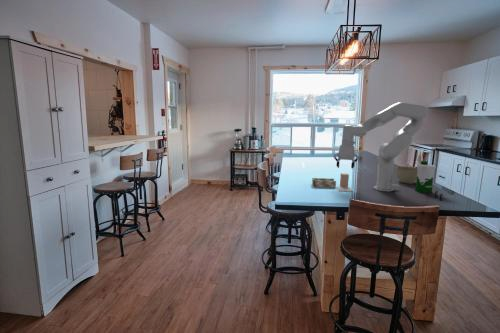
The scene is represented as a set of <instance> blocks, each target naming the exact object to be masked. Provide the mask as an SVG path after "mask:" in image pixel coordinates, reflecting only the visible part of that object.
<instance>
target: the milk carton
mask: <svg viewBox="0 0 500 333" xmlns="http://www.w3.org/2000/svg"><path fill="white" fill-rule="evenodd" d="M428 162H429V161H426V160H420V163H418V164H416V165H417V166H416V168H418V174H417V179H416V181H415V182H416V183H415V188H414V191H415V192H419V193H422V194H429V193H433V182H434V175H435V171H436V169H437V168H436V167H437V166H436V165H434V164H429V163H428Z"/></svg>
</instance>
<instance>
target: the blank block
mask: <svg viewBox="0 0 500 333" xmlns="http://www.w3.org/2000/svg"><path fill="white" fill-rule="evenodd" d="M349 178H350V174H348V173H346V172H345V173H343V172H342V173H341V172H340V179H339V182H340V183H339V187H349V180H350V179H349Z"/></svg>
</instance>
